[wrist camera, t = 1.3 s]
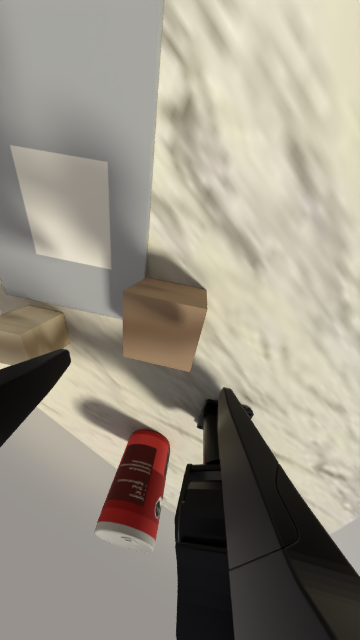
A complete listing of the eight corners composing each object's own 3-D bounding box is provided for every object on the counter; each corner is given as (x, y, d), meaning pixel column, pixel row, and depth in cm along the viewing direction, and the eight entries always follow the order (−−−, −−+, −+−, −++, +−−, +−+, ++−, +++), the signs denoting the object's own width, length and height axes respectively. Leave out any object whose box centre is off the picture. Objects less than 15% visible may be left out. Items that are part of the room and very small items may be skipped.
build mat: (142, 321, 17) (141, 323, 17) (10, 292, 18) (5, 293, 18) (164, -8, 8) (162, -23, 8) (-107, -40, 9) (-125, -56, 8)
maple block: (69, 343, 21) (33, 370, 16) (38, 335, 21) (-7, 361, 16) (63, 312, 19) (19, 335, 14) (28, 305, 19) (-26, 324, 14)
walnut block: (193, 339, 18) (189, 372, 13) (142, 328, 18) (123, 356, 14) (206, 289, 15) (207, 309, 11) (146, 277, 15) (122, 291, 11)
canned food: (154, 456, 31) (131, 552, 22) (122, 436, 30) (82, 531, 20) (180, 446, 28) (167, 553, 19) (146, 423, 26) (113, 528, 17)
